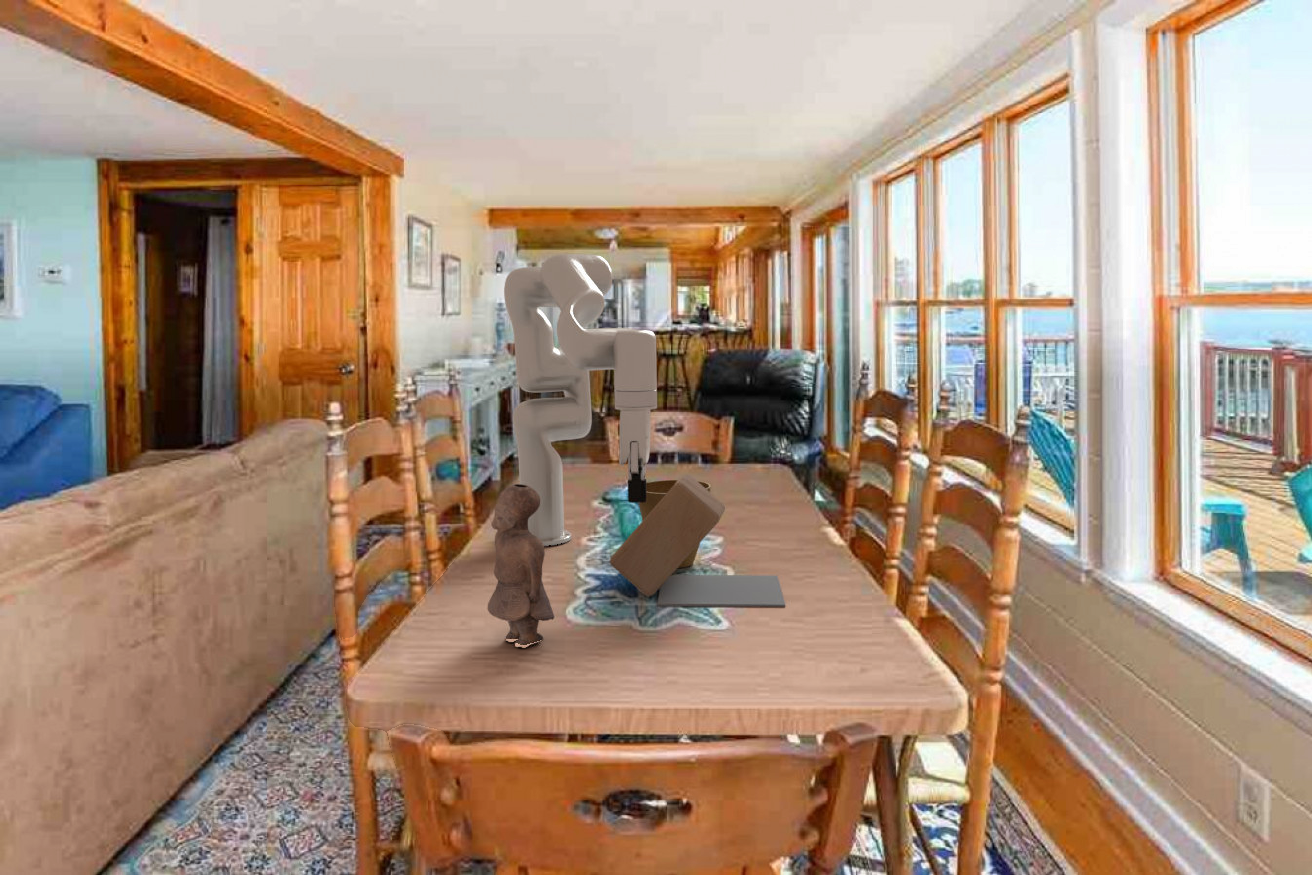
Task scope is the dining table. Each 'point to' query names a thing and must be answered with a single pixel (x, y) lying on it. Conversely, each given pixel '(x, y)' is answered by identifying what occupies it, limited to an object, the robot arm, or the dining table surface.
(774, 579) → the mat
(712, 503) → the block
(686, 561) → the plant pot
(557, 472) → the robot arm
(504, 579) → the clay figurine
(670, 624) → the dining table surface
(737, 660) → the dining table surface
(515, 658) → the dining table surface
